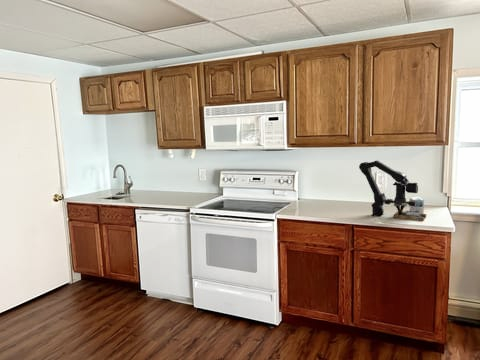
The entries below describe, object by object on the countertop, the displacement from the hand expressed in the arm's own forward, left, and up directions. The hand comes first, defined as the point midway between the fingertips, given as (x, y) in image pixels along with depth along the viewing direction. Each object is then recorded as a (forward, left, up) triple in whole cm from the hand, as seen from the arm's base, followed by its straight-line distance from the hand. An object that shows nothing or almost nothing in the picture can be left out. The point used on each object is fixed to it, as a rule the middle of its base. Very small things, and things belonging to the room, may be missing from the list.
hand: (400, 214), depth 244 cm
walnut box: (+6, 0, -2) cm, 6 cm away
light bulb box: (+7, +19, -2) cm, 20 cm away
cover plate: (+9, 0, -1) cm, 9 cm away
